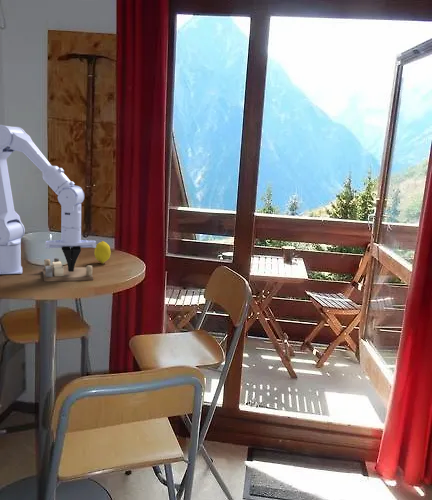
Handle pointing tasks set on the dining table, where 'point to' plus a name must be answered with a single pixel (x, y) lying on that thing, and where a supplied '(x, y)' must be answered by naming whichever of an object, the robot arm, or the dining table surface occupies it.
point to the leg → (57, 267)
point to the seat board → (67, 273)
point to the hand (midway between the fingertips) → (70, 270)
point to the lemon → (102, 252)
